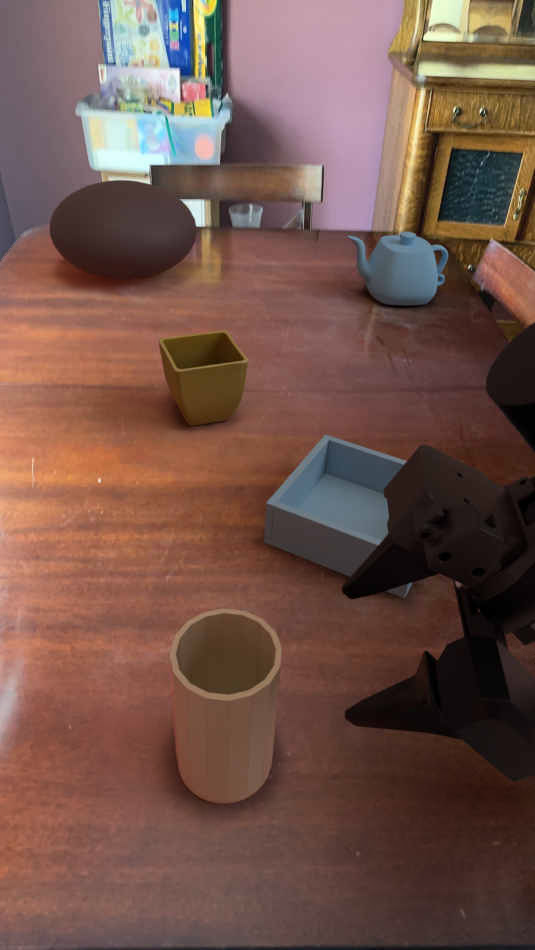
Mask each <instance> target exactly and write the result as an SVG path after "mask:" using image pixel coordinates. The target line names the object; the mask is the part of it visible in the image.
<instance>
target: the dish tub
mask: <svg viewBox="0 0 535 950" xmlns="http://www.w3.org/2000/svg"><path fill="white" fill-rule="evenodd" d="M407 461H408V460H405V459H402V458H399V457H396V456H393V455H390V454H387V453H384V452H381V451H377V450H374V449H371V448H368V447H365V446H362V445H359V444H356V443H354V442H350V441H347V440H344V439H341V438H338V437H335V436H331V435H329V434H324V435H323V436H322V438H321V439H320V440H319V441H318V442H317V443H316V445H315V446H314V447H313V448H311V450H310V451H309V452H308V454H307V455H306V456H305V457H304V458H303V460H302V461H301V462H300V463H299V464H298V465H297V466H296V468H295V469H294V470H293V471H292V472H291V473H290V475H289V476H288V477H287V478H286V479H285V480H284V481H283V482H282V484H280V486H279V487H278V488H277V489H276V491H275V492H274V493H273V494H272V495H271V497H270V498H269V499H268V500H267V501H266V502H265V518H264V534H263V535H264V536H263V543H265V544H267V545H270V546H272V547H274V548H277V549H280V550H282V551H284V552H287V553H289V554H292V555H295V556H297V557H300V558H302V559H304V560H307V561H310V562H312V563H314V564H317V565H319V566H322V567H324V568H327V569H329V570H331V571H334V572H336V573H339V574H342V575H344V576H347V577H349V578H350V577H351V576H352V574H353V573H354V572H355V571H356V570H357V569H358V568H359V567H360V565H361V564H362V563H363V562H364V561H365V560H366V559H367V558H368V556H369V555H370V554H371V553H372V552H373V551H374V550H375V549H376V547H377V546H378V545H379V544H380V543H381V542H382V540H383V539H384V538H385V537H386V535H387V534H388V533H389V532H388V528H387V522H388V519H389V513H388V504H387V499H386V498H385V497H384V488H385V487H386V486H387V484H388V483H389V482H390V481H391V480H392V478H393V477H394V476H395V475H396V474H397V472H398V471H399V470H400V469H401V468H402V467H403V465H404V464H405V463H406V462H407ZM413 583H414V582H412V583H409V584H406V585H403V586H400V587H397V588H393V589H390V590H387V591H385V592H386V593H388V594H391V595H393V596H396V597H399V598H401V599H406V597H407V595H408V593H409V591H410V589H411V588H412V586H413Z"/></svg>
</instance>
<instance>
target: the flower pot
mask: <svg viewBox="0 0 535 950" xmlns="http://www.w3.org/2000/svg"><path fill="white" fill-rule="evenodd" d="M158 346H159V352H160V357H161V362H162V368H163V374H164V377H165V381H166V384H167V386H168V389H169V391H170V393H171V395H172V398H173V399H174V401H175V404H176V405H177V407H178V409H179V410H180V412H181V414H182V417H183V418H184V420H185V422H186V423H187V424H188V425H189V426H191V427H195V426H200V425H201V426H202V425H205V424H213V423H217V422H225V421H228V420H229V419H230V418H231V417H232V416H233V415H234V414H235V412H236V411H237V410H238V408H239V406H240V404H241V402H242V400H243V396H244V392H245V386H246V379H247V372H248V365H249V359H248V357H247V356H246V355H245V354H244V352H243V351H242V350H241V349H240V347H239V346H238V345H237V344H236V342H235V340H234V339H233V337H232V336H231V335H230V333H229V332H228V331H226V330H215V331H208V332H200V333H193V334H185V335H184V334H183V335H177V336H168V337H161V338H159V339H158Z"/></svg>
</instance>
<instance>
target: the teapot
mask: <svg viewBox="0 0 535 950" xmlns="http://www.w3.org/2000/svg"><path fill="white" fill-rule="evenodd" d="M347 237H348V239H350V241H352V242H353V243H354V247H355V249H356V250H355V251H356V259H355V260H356V262H355V263H356V271H357V273H358V275H359V276H360V277H361V279H363V280H364V285H365V287H366V289H367V291H368V293H369V294H370V295H371V297H372V298H373V299H375V300H376V301H378V302H379V303H382V304H384V305H389V306H422V305H426V304H428V303H429V302H430V301H432V299H433V298H434V296H435V295H436V293H437V290H438V287H440V286H442V285H443V284H444V283H445V279H446V278H445V275H444V274H443V273H442V272H443V269H444V268H445V266H446V264H447V262H448V259H449V252H448V250H447V249H446V248H445V247H444V246H443V245H441V244H432V245H431V243H430V242H429V241H427V240H426V239H424V238H422V237H420V236H417V234H416V233H414V232H411V231H402V232H400V233H399V234H398V235H397V234H394V235H393V234H392V235H384V236H382V237H380V239H379V240H378V241H377V243H376V245H375V247H374V248H373V251H372V252H371V254H370V256H369V258H368V261H367V257H366V246H365V243H364V240H362V239H361V238H360V237H356V236H352V235H347ZM435 251H439V252H441V254H442V256H441V258H440V260H439V263H438V264H437V260H436V255H435ZM438 278H439V279H438Z"/></svg>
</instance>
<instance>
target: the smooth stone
mask: <svg viewBox="0 0 535 950" xmlns="http://www.w3.org/2000/svg"><path fill="white" fill-rule="evenodd" d="M197 229H198V228H197V222H196V219H195V217H194V216H193V213H192V211H191V210H190V208H189V207H188V205H186V204H185V202H184V201H183V200H181V198H179V197H177V196H176V195H175V194H174V193H172V192H170V191H169V190H166V189H164V188H162V187H159V186H157V185H155V184H151V183H147V182H143V181H137V180H127V179H115V180H113V179H112V180H106V181H101V182H100V181H99V182H96V183H92V184H88V185H85V186H84V187H81V188H79V189H77V190H75V191H73V192H71V193H70V194H69V195H68V196H66V197H65V198H64V199H63V200H61V201H60V202H59V204H58V205H57V206H56V208H55V209H54V210H53V213H52V214H51V217H50V220H49V236H50V239H51V242H52V245H53V246H54V248H55V249H56V251H57V252H58V253H59V254H60V256H61V257H62V258H63V259H64V260H65V261H66V262H68V263H69V264H71V265H72V266H73V267H75V268H77V269H79V270H81V271H83V272H85V273H88V274H90V275H94V276H98V277H102V278H107V279H113V280H137V279H145V278H148V277H152V276H155V275H159V274H160V273H164V272H167V271H168V270H171V269H172V268H174V267H175V266H177V265H178V264H180V263H181V262H182V261H184V259H185V258H186V257H187V256H188V255H189V254H190V252H191V251H192V249H193V247H194V245H195V243H196V240H197V233H198V232H197V231H198V230H197Z"/></svg>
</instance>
